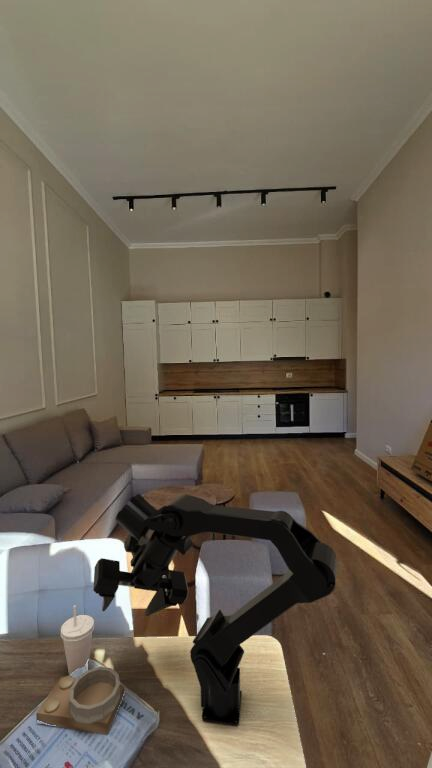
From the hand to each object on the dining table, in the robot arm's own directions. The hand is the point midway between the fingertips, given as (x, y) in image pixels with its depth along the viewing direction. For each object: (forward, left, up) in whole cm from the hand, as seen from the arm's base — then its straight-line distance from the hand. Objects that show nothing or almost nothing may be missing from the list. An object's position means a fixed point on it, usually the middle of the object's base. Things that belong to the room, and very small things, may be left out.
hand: (125, 611), depth 72 cm
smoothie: (+10, +1, -13) cm, 16 cm away
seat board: (+5, +9, -12) cm, 16 cm away
